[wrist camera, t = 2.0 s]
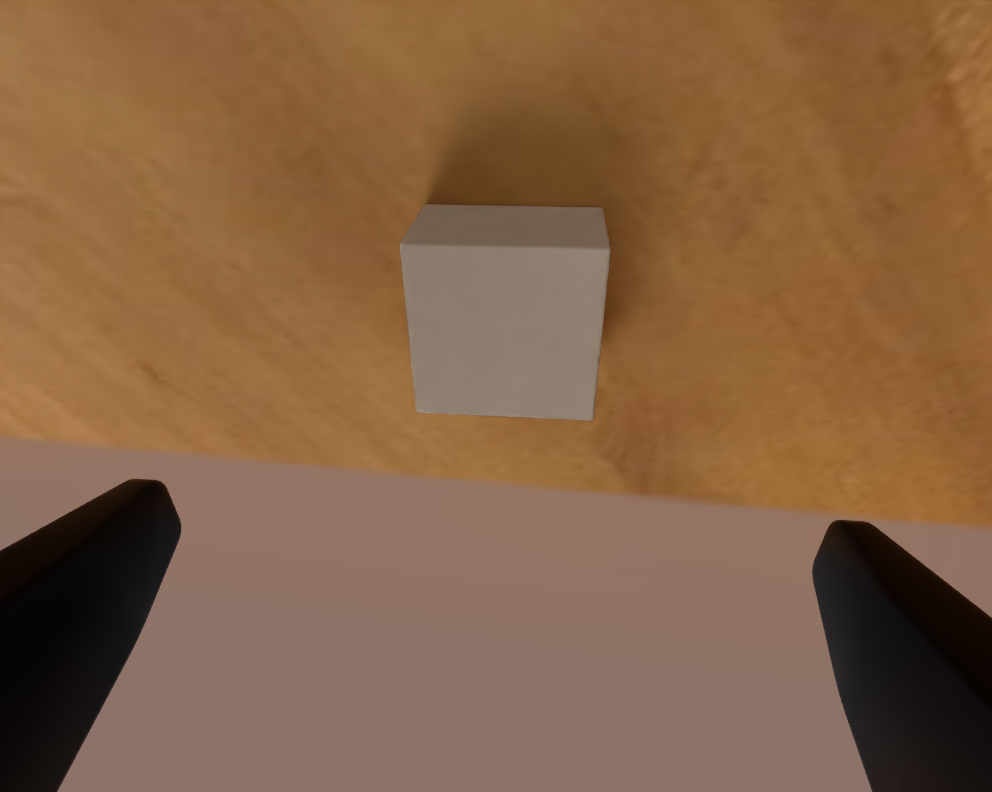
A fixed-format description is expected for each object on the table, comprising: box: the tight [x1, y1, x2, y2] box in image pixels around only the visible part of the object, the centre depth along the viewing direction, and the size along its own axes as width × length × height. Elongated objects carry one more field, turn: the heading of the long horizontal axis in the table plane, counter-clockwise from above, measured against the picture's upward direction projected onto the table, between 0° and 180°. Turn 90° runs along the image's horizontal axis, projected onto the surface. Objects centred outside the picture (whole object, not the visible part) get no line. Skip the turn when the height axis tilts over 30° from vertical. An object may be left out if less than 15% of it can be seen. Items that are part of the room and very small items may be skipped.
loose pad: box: [400, 204, 611, 421], centre depth 14 cm, size 4×4×2 cm
